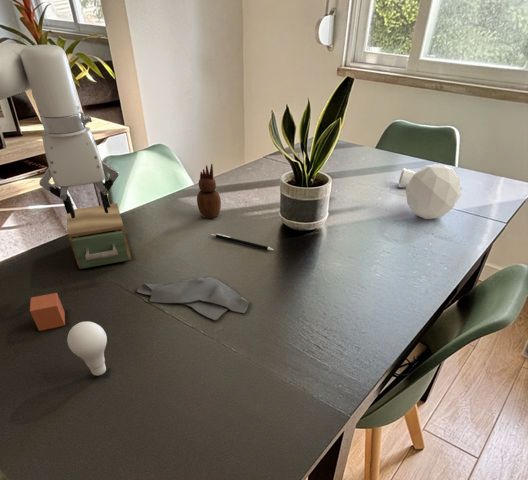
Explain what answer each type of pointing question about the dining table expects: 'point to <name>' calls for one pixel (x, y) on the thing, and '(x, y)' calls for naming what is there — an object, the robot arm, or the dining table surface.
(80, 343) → the lightbulb
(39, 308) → the block
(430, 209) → the geometric sphere
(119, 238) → the drawer
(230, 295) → the cloth
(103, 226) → the cabinet
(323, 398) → the dining table surface
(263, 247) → the pen
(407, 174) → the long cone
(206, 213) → the wooden figurine
